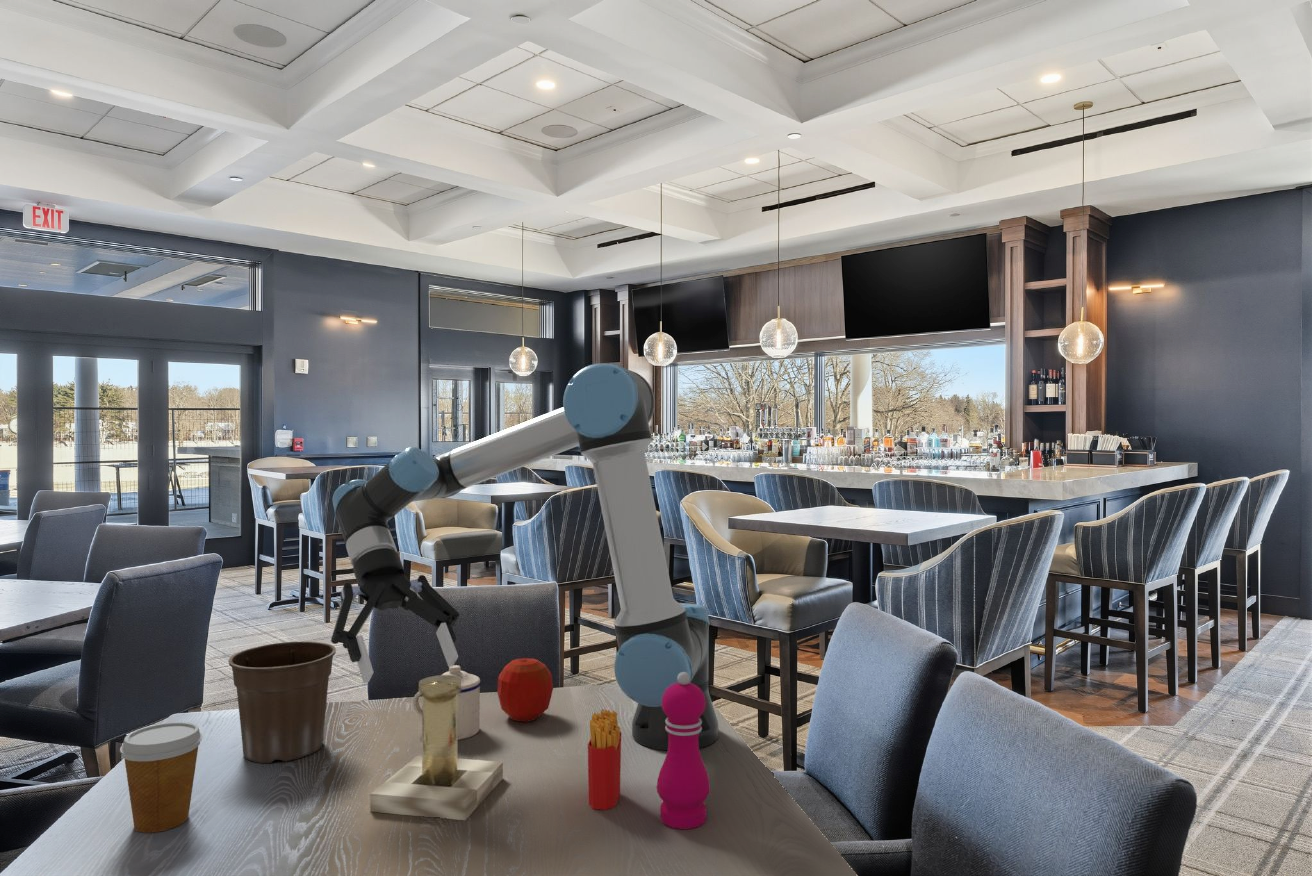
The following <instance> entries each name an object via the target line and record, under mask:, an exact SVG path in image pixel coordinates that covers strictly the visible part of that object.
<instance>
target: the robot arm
mask: <svg viewBox="0 0 1312 876" xmlns="http://www.w3.org/2000/svg"><path fill="white" fill-rule="evenodd" d="M562 398H563V399H562V405H563V406H562V407H559V408H556V409H554V410H552V411H549V412H546V413H544V414H541V415H539V416H536V417H534V418H531V419H529V420H526V421H523V422H521V423H519V424H516V425H513V426H511V427H508V428H506V429H504V430H500V431H499V432H495V433H493V434H490V435H488V436H486V437H483V438H480V439H478V440H475V441H472V442H470V443H467V444H465V445H463V446H460V447H457V448H454V449H452V450H450V451H448V452H447V451H446V452H444V453H442V454H440V455H437V456H434V457H431V455H430V454H428V452H426V451H425V450H423V449H420V448H419V447H416V446H409V447H407V448H406V449H404V450H403V451H401V452H400V453H398V454H397V455H395V456H394V457H393V458H392V459H390V461H389V462H387V464H386V465H384V466H383V467H382V468H381V469H380V470H379V471H378V472H376V473H375V474H374V475H373V476H371V478H370V479H369V480H365V479H353V480H350V481H349V482H347V483H343V484H341V485H340V486H339V487H337V488H336V490H335V491H334V492H333V496H332V505H333V511H334V517H335V519H336V521H337V524H338V527H339V529H340V532H341V534H342V537H343V540H344V544H345V548H346V551H347V555H348V557H349V560H350V564H351V566H352V570H353V573H354V576H355V580H356V583H357V585H356V586H353V585H352V584H351V583H350V582H346V583H344V584H343V586H342V589H341V591H340V595H339V596H340V602H341V603H340V604H341V605H340V608H339V612H338V615H337V618H336V622H335V625H334V628H333V632H332V635H331V639H330V642H331V643H332V645H333V644H334V645H337V644H339V643H341V644H342V647H343V648H344V649H346V651H347V652H348V656H349V659H350V661H351V662H352V663H355V662H356V663H357V666H358V669H359V672H360V675H361V679H362V682H363V684H367V683H369V682H370V680H371V678H372V676H373V675H374V672H375V671H374V669H373V666H372V661H371V659H370V656H369V653H368V649H367V646H366V643H365V640H364V637H363V635H361V634H360V635H359V633H360V631H361V630H362V628H363V626H364V625H365V623H366V621H367V619H368V618H369V617H370V615H371V614H372V612H373V610H374V609H378V610H379V611H385V610H387V609H393V610H394V609H399V608H402V609H403V610H405V611H411V612H412V613H413V614H415V615H416V616H418V617H419V618H421V619H422V620H424V621H426V622H427V623H428V624H430V625H432V626H433V627H434V628H437V630H436V632H435V634H436V636H437V639H438V642H439V646H440V647H441V651H442V653H443V655H444V659H445V661H446V664H447V667H448V668H449V667H451V666H453V665H455V663H456V662H457V659H458V658H459V655H458V651H457V649H456V646H455V643H456V640H457V637H456V633H455V631H454V628H453V626H455V624H456V622H457V621H458V619H459V617H460V613H459V612H458V611H457V610H456V609H455V608H454V607H453V605H451V604H450V603H449V602H448V601H447V600H446V599H445V598H444V596H442V595H441V594H440V593H439V592H438V591H437V590H436V589H435V588H433V586H432V585H430V582H429V581H428V579H427V577H426V576H425V575H423V574H420V575H419V576H418V578H415V579H411V580H410V579H408V577H407V576H406V574H405V568H404V565H403V562H402V560H401V558H400V554H399V553H398V550H397V546H396V543H395V541H394V538H393V536H392V533H391V530H390V526H389V524H388V522H389V521H390V520H391V519H392V518H393V517H395V516H397V514H398V513H399V512H401V511H402V510H403V509H405V508H406V507H407V506H409V504H412V503H413V502H418V501H425V500H433V499H445V498H449V497H453V496H455V495H457V494H459V493H460V492H461V491H463V490H465V489H467V488H469V487H473V486H476V485H478V484H480V483H484V482H486V481H489V480H491V479H493V478H497V477H500V476H502V475H504V474H507V473H510V472H512V471H515V470H517V469H520V468H523V467H526V466H529V465H531V464H533V463H537V462H539V461H541V460H544V459H548V458H550V457H553V456H555V455H558V454H560V453H563V452H566V451H568V450H570V449H574V448H576V447H579V449H580V450H579V451H580V454H581V456H583V457H584V458H586V459H587V460H589V461H590V462H591V463H592V467H593V472H594V477H595V482H596V487H597V493H598V499H599V503H600V509H601V513H602V519H603V524H604V530H605V534H606V540H607V545H608V549H609V554H610V555H609V556H610V559H611V565H612V570H613V575H614V580H615V585H616V591H617V596H618V601H619V607H620V611H619V613H618V615H617V616H616V618H615V619H614V620H613V626H614V630H615V635H616V639H617V640H616V642H617V646H618V650H617V652H616V655H615V659H614V667H613V668H614V676H615V680H616V682H617V685H618V686H619V688H620V690H621V691H622V692H623V693H624V695H625V696H627V698H629V699H631V700H632V701H634V702H635V704H636V703H637V705H636V709H635V711H634V715H633V719H632V722H631V723H632V724H631V735H632V738H633V740H634V741H635V742H637V743H639V744H640V745H642V746H645V747H648V748H652V749H657V750H663V751H668V743H669V736H668V732H667V731H666V729H665V726H666V723H665V720H666V718H667V715H666V714H665V713H664V711H663V709H662V697H663V694H664V692H665V690H666V689H667V688H668V687H669V686H671V685H673V684H675V683H678V680H677V677H678V675H679V674H680V673H681V672H686V673H688V674H689V676H690V682H689V683H691V684H694V685H696V686H698V687H699V688H700V689H701V690H702V692H703V694H704V696H705V702H706V705H705V710H704V712H703V714H702V715H701V716H700V717H699V718H700V719H701V720H702V723H701V727H702V730H701V732H699V736H698V744H699V749H700V748H704V747H707V746H709V745H710V746H711V744H713V743H715V742H716V741H717V740H718V739H719V722H718V718H717V714H716V712H715V708H714V705H713V703H712V698H711V695H710V692H709V644H710V643H709V639H710V638H709V632H710V631H709V629H710V628H709V626H710V625H711V624H710V623H711V622H710V619H709V618H710V617H709V610H708V608H706V607H705V606H704V605H701V604H698V603H697V604H696V603H684V602H678V601H677V600H676V599H675V598H674V596H673V590H672V589H673V588H672V584H671V580H670V579H671V578H670V574H669V568H668V563H667V559H666V554H665V549H664V543H663V539H662V534H661V528H660V524H659V519H658V513H657V508H656V502H655V499H654V493H653V488H652V482H651V479H650V478H651V477H650V474H649V473H650V472H649V468H648V463H647V462H648V461H647V458H646V457H647V456H646V450H647V449H648V447H649V446H650V444H651V442H652V434H651V430H650V424H649V423H650V421H651V420H652V418H653V416H654V413H655V408H656V399H655V393H654V390H653V388H652V386H651V384H650V383H649V382H648V381H647V380H646V378H644V377H643V376H642V375H640V374H639V373H638V372H635V371H634V370H630V369H626V368H624V367H622V366H620V365H617V364H615V363H609V362H606V363H593V364H589V365H587V366H585V367H583V368H581V369H580V370H578V371H577V372H576V373H575V374H574V375H573V376H572V377H571V379H570V380H569V381H568V384H567V385H566V387H565V390H564V394H563V397H562ZM357 596H358V597H360V598H361V599H362V600H364V601H365V602H366V603H365V605H364V606H363V608H362V609H361V611H360V612H359V614H358V615H357V617H356V619H355V621H354V622H353V623H352V625H351V627H349V630H345V629H346V624H347V620H348V617H349V613H350V609H351V606H352V602H353V601H355V599H356V597H357ZM407 598H408V599H407ZM406 599H407V600H406Z"/></svg>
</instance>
